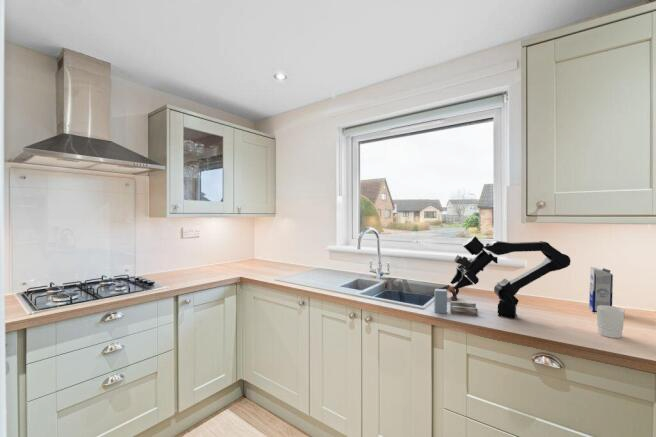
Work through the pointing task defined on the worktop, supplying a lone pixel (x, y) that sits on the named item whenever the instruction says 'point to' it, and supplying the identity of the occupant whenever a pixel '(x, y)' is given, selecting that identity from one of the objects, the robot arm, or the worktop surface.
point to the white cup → (610, 321)
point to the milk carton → (600, 288)
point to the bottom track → (463, 308)
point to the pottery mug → (452, 290)
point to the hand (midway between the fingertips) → (452, 285)
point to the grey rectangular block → (440, 301)
